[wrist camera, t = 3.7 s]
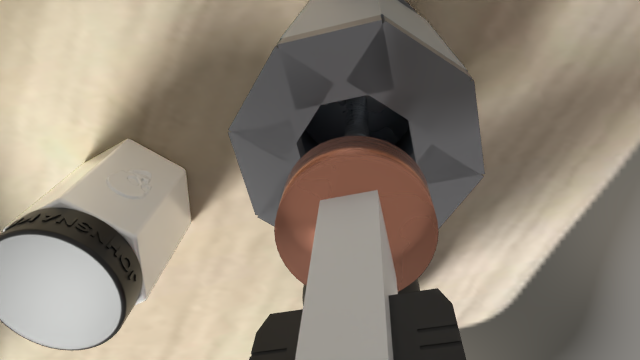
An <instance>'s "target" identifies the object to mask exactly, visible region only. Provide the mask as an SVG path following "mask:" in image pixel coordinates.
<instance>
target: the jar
mask: <svg viewBox="0 0 640 360" xmlns="http://www.w3.org/2000/svg"><path fill="white" fill-rule="evenodd" d="M190 224H191V213H190V204H189V195H188V186H187V177H186V170H185V169H184V168H182V167H180V166H179V165H177V164H175V163H173V162H171V161H169V160H167V159H166V158H164V157H162V156H160V155H158V154H156V153H155V152H153V151H151V150H149V149H147V148H146V147H144V146H142V145H140V144H138V143H136V142H135V141H133V140H131V139H126V140H124V141H122V142H120V143H119V144H117V145H115V146H113V147H112V148H110V149H108V150H106V151H105V152H103V153H101V154H99V155H97V156H96V157H94V158H92V159H90V160H88V161H87V162H85V163H83V164H82V165H80V166H79V167H78V168H77V169H75V170H74V171H73V172H72V173H71V174H69V175H68V176H67V177H66V178H64V179H63V180H62V181H61V182H60V183H58V184H57V185H56V186H55V187H53V188H52V189H51V190H50V191H49V192H47V193H46V194H45V195H44V196H43V197H41V198H40V199H39V200H38V201H36V202H35V203H34V204H33V205H32V206H30V207H29V208H28V209H27V210H25V211H24V212H23V213H22V214H21V215H19V216H18V217H17V218H16V219H14V220H13V221H12V222H11V223H10V224H8V225H7V226H6V227H5V228H4V229H3V233H2V234H1V235H0V320H1V321H2V322H3V323H4V324H5V325H6V326H7V327H9V328H10V329H11V330H13V331H14V332H16V333H17V334H19V335H20V336H22V337H24V338H26V339H28V340H30V341H32V342H34V343H37V344H40V345H42V346H46V347H49V348H54V349H60V350H84V349H89V348H92V347H96V346H98V345H101V344H103V343H105V342H106V341H108V340H109V339H111V338H112V337H113V336H114V335H115V334H116V333H117V332H118V331H119V329H120V328H121V326H122V325H123V323H124V321H125V320H126V318H127V317H128V315H129V313H130V312H131V310H132V308H133V307H134V306H135V305H137V304H139V303H141V302H144V301H145V300H146V299H147V298H148V296H149V294H150V293H151V291H152V289H153V288H154V286H155V284H156V283H157V281H158V279H159V277H160V276H161V274H162V272H163V271H164V269H165V267H166V265H167V264H168V262H169V260H170V259H171V257H172V255H173V253H174V252H175V250H176V248H177V247H178V245H179V243H180V241H181V240H182V238H183V236H184V235H185V233H186V231H187V230H188V228H189V226H190Z"/></svg>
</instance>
